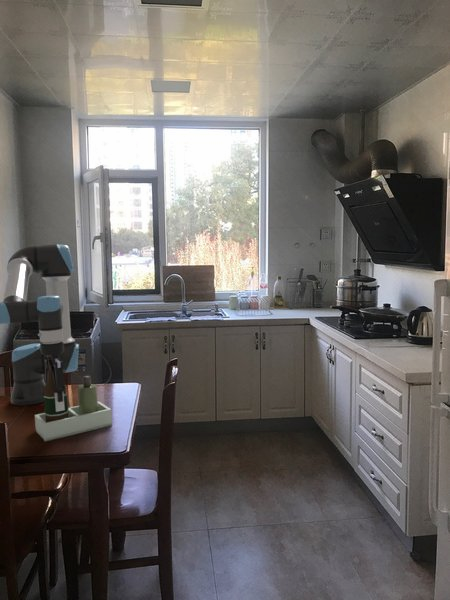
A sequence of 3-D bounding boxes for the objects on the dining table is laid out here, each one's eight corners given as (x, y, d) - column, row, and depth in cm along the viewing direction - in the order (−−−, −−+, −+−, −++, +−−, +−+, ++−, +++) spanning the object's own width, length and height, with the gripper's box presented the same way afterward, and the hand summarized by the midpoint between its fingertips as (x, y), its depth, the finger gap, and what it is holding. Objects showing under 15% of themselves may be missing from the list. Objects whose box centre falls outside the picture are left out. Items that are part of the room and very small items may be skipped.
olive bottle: (77, 422, 176) (74, 376, 175) (95, 418, 180) (92, 373, 178) (83, 427, 171) (80, 380, 169) (101, 422, 175) (98, 376, 173)
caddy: (35, 431, 171) (34, 414, 170) (100, 416, 184) (99, 401, 183) (45, 441, 161) (43, 424, 160) (112, 425, 174) (111, 409, 173)
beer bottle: (62, 429, 165) (57, 359, 162) (41, 428, 166) (35, 358, 164) (73, 421, 172) (69, 353, 170) (53, 420, 174) (48, 353, 171)
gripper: (32, 339, 173) (37, 402, 175) (48, 347, 156) (54, 417, 158) (54, 336, 177) (59, 398, 179) (72, 344, 160) (77, 412, 162)
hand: (56, 407), depth 169 cm, fingers closed on beer bottle, 8 cm apart
